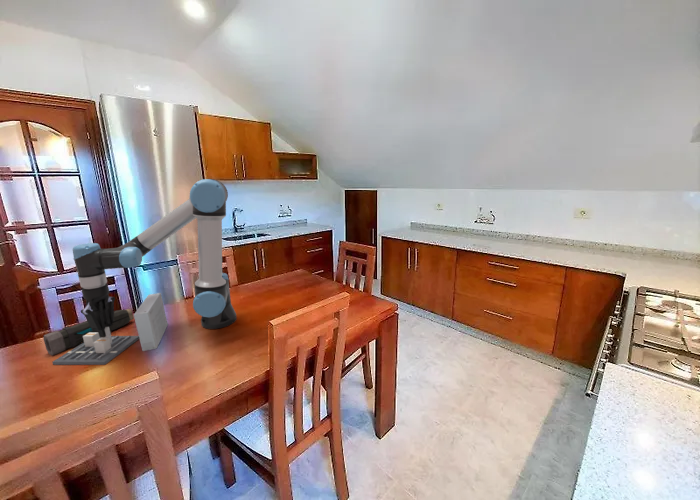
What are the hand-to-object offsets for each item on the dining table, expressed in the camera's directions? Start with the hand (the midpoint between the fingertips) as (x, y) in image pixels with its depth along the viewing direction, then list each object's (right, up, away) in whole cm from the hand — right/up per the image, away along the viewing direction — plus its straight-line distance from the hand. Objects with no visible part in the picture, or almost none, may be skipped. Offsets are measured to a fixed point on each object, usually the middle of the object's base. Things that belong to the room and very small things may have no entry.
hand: (107, 343), depth 115 cm
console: (-4, -3, +1) cm, 5 cm away
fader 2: (0, -3, -2) cm, 3 cm away
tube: (-15, -1, +12) cm, 19 cm away
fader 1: (-8, -2, +3) cm, 9 cm away
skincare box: (+12, -1, +11) cm, 16 cm away
